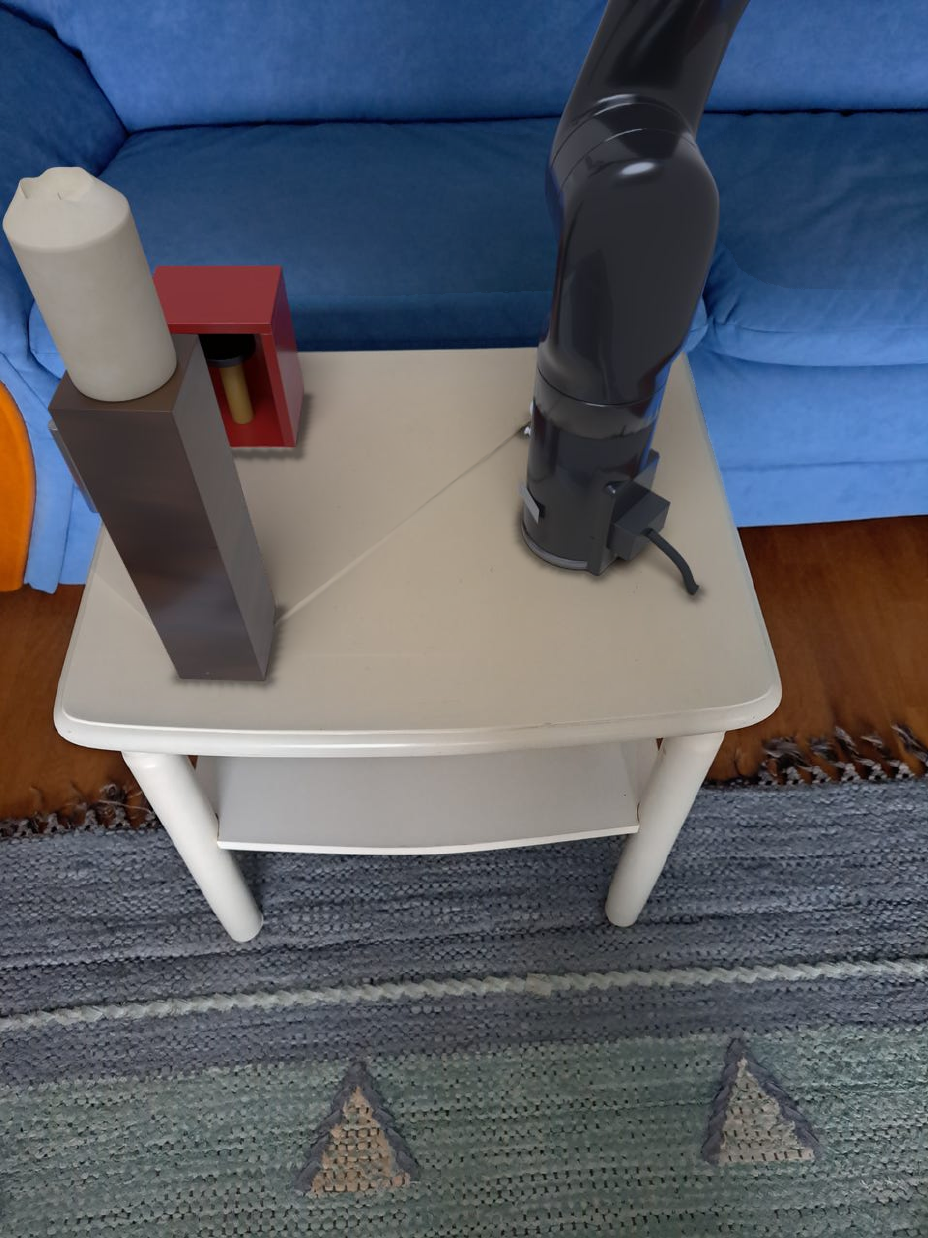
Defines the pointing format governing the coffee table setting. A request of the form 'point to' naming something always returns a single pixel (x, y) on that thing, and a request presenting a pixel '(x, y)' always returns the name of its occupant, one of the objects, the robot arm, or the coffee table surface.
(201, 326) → the cabinet
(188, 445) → the plinth
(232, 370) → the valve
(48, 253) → the candle
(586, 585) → the coffee table surface
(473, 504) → the coffee table surface
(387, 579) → the coffee table surface
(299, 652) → the coffee table surface
